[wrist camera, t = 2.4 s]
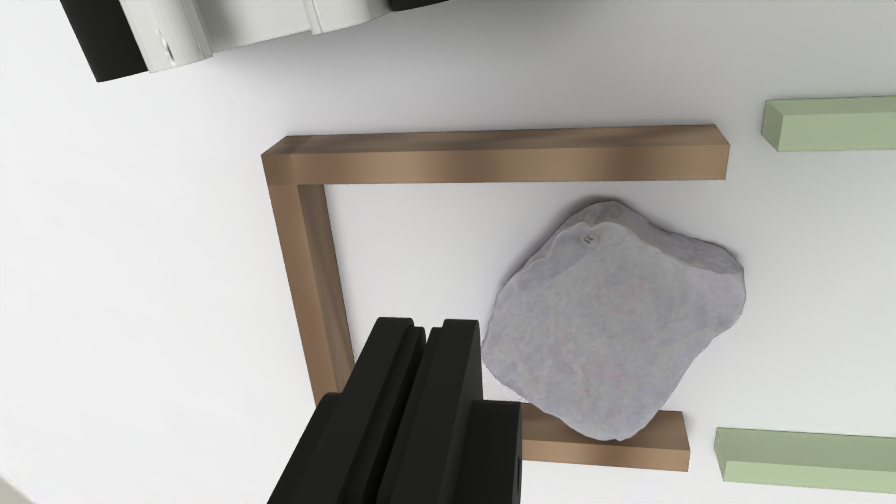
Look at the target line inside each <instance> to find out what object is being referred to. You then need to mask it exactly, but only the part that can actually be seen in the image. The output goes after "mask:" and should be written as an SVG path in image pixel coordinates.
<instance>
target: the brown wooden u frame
mask: <svg viewBox="0 0 896 504" xmlns="http://www.w3.org/2000/svg"><path fill="white" fill-rule="evenodd" d="M729 147H730V144H729V143H728V142H727V140H726V139H725V138H724V136H723V135H722V134H721V132H720V131H719V130H718V128H717V127H716V125H678V126H641V127H605V128H568V129H531V130H494V131H458V132H421V133H384V134H348V135H311V136H286V137H285V138H283V139H282V140H280V141H279V142H278V143H276V144H275V145H274V146H272V147H271V148H269V149H268V150H267V151H265V152H264V153H262V154H261V158H262V163H263V167H264V172H265V176H266V181H267V185H268V190H269V195H270V199H271V204H272V208H273V213H274V218H275V222H276V227H277V231H278V236H279V240H280V245H281V250H282V254H283V259H284V263H285V268H286V272H287V277H288V282H289V286H290V291H291V295H292V300H293V304H294V309H295V314H296V318H297V323H298V327H299V332H300V336H301V341H302V346H303V350H304V355H305V359H306V364H307V368H308V373H309V378H310V382H311V387H312V391H313V396H314V400H315V405H316V408H317V406H318V404H319V402H320V400H321V399H322V397H323V396H324V394H326V393H328V392H337V393H342V392H343V389H344V387H345V385H346V383H347V381H348V379H349V377H350V375H351V373H352V371H353V369H354V366H355V364H354V358H353V352H352V347H351V341H350V335H349V330H348V324H347V318H346V313H345V307H344V301H343V296H342V290H341V284H340V279H339V273H338V267H337V262H336V256H335V250H334V245H333V239H332V233H331V228H330V222H329V216H328V211H327V205H326V199H325V194H324V188H323V184H395V183H482V182H569V181H656V180H725V178H726V170H727V162H728V155H729ZM521 406H522V460H529V461H543V462H557V463H571V464H585V465H599V466H613V467H626V468H640V469H654V470H668V471H682V472H688V466H689V458H690V447H689V442H688V438H687V433H686V429H685V425H684V420H683V416H682V412H673V411H658V412H657V413H656V414H655V416H654V417H653V418H652V419H651V420H650V422H649V423H648V424H647V425H646V426H645V427H644V428H643V429H641V430H639V431H638V432H637V433H636V434H635V435H633V436H632V437H631V438H627V439H624V440H622V441H618V440H616V439H611V440H606V441H604V440H597V439H594V438H590V437H587V436H584V435H583V434H581V433H579V432H577V431H576V430H574V429H573V428H571V427H569V426H568V425H567V424H566V423H564V422H563V421H562V420H561V419H560V418H558V417H555V416H553V415H551V414H548V413H544V412H543V411H542V410H541V409H539V408H538V407H536V406H535V405H533V404H528V403H521Z"/></svg>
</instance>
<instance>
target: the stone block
mask: <svg viewBox="0 0 896 504" xmlns="http://www.w3.org/2000/svg"><path fill="white" fill-rule="evenodd" d="M745 300H746V290H745V284H744V270H743V267H742V266H741V265H740V264H739V263H738V262H737V261H736V260H735V259H734V258H733V257H732V256H731V255H730V254H729V253H728V252H727V251H726V250H725V249H724V248H721V247H719V246H716V245H714V244H711V243H708V242H702V241H700V240H698V239H694V238H688V237H686V236H683V235H680V234H676V233H672V232H670V233H667V232H665V231H663V230H660V229H658V228H656V227H655V226H654V225H653V224H651V223H650V222H648V221H647V220H646V219H645V218H644V217H643V216H642V215H641V214H639V213H637V212H635V211H633V210H631V209H629V208H627V207H625V206H624V205H623V204H622V203H619V202H616V201H608V202H598V203H594V204H592V205H589V206H587V207H585V208H584V209H583V210H582V211H580V212H578V213H576V214H574V215H573V216H571V217H570V218H568V219H567V220H566V221H565V222H564V223H563V224H562V225H561V226H560V227H559V228H558V229H557V230H556V232H555V233H554V234H553V235H552V236H551V237H550V238H549V240H548V241H547V242H546V243H545V244H544V245H543V246H542V247H541V249H540V250H539V251H538V252H536V253H535V254H534V255H533V256H531V257H530V258H529V259H528V260H527V262H526V264H525V265H524V266H523V268H521V269H520V270H519V271H518V272H517V273H515V274H514V275H513V276H512V277H511V278H510V280H509V281H508V282H507V283H506V284H505V285H504V286H503V288H502V289H501V290H500V291H499V293H498V294H497V297H496V302H495V305H494V311H493V316H492V317H491V319H490V321H489V324H488V332H487V334H486V336H485V338H484V340H483V341H482V346H481V357H482V361H483V362H484V364H485V366H486V367H487V368H488V369H489V371H490V372H491V374H492V375H493V376H494V377H495V378H496V379H497V380H499V381H500V382H501V383H502V384H503V385H505V386H507V387H508V388H510V389H512V390H514V391H515V392H516V393H518V394H519V395H520V396H522V397H523V398H525V399H526V400H528V401H529V402H530V403H532V404H533V405H535V406H536V407H538V408H539V409H541V410H542V411H543V412H544V413H548V414H551V415H553V416H555V417H558V418H560V419H561V420H562V421H563V422H564V423H566V424H567V425H568V426H569V427H571V428H573V429H574V430H576V431H577V432H579V433H581V434H583V435H584V436H587V437H590V438H594V439H597V440H604V441H606V440H611V439H616V440H618V441H622V440H624V439H627V438H631V437H632V436H633V435H635V434H636V433H637V432H638V431H639V430H641V429H643V428H644V427H645V426H646V425H647V424H648V423H649V422H650V420H651V419H652V418H653V417H654V416H655V414H656V413H657V412H658V410H659V409H660V408H661V407H662V406H663V405H664V403H665V402H666V400H667V399H668V398H669V396H670V395H671V393H672V392H673V391H674V389H675V388H676V386H677V385H678V383H679V381H680V380H681V378H682V376H683V375H684V373H685V371H686V370H687V369H688V367H689V366H690V364H691V363H692V362H693V360H694V359H695V358H696V357H697V355H698V354H699V353H700V352H702V351H703V350H704V349H705V348H706V347H707V346H708V345H709V343H710V342H711V341H712V339H713V338H715V337H716V336H718V335H719V334H721V333H722V332H724V331H726V330H727V329H729V328H730V327H731V326H732V325H733V324H734V323H735V322H736V320H737V319H738V318H739V316H740V315H741V314H742V311H743V307H744V304H745Z"/></svg>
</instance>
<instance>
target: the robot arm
mask: <svg viewBox="0 0 896 504" xmlns="http://www.w3.org/2000/svg"><path fill="white" fill-rule="evenodd" d="M521 479H522V406H521V402H514V401H494V400H483V387H482V367H481V346H480V328H479V321H478V320H464V319H445V320H444V323H443V326H442V327H433V328H432V329H431V332H430V335H429V338H428V341H427V344H426V334H425V329H424V327H414V322H413V319H412V318H396V317H379V318H378V319H377V321H376V323H375V325H374V327H373V329H372V331H371V333H370V335H369V337H368V339H367V341H366V343H365V346H364V348H363V350H362V352H361V354H360V356H359V358H358V360H357V362H356V364H355V366H354V369H353V371H352V373H351V375H350V377H349V379H348V381H347V383H346V385H345V387H344V389H343V392H342V393H337V392H328V393H326V394H324V396H323V397H322V399H321V400H320V402H319V404H318V406H317V408H316V409H315V411H314V413H313V415H312V417H311V419H310V421H309V423H308V425H307V427H306V429H305V431H304V433H303V435H302V436H301V438H300V440H299V442H298V444H297V446H296V448H295V450H294V452H293V454H292V456H291V458H290V460H289V462H288V464H287V465H286V467H285V469H284V471H283V473H282V475H281V477H280V479H279V481H278V483H277V485H276V487H275V489H274V491H273V493H272V494H271V496H270V498H269V500H268V502H267V504H520V498H521Z"/></svg>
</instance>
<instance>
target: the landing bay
mask: <svg viewBox="0 0 896 504" xmlns="http://www.w3.org/2000/svg"><path fill="white" fill-rule="evenodd" d="M761 134H762V135H763V137H764V138H765V139H766V140H767V141H768V142H769V143H770V144H771V145H772V146H773V147H774V148H775V149H776V150H777V152H791V151H843V150H896V96H885V97H855V98H826V99H796V100H766V107H765V113H764V120H763V127H762V133H761ZM714 449H715V452H716V456H717V460H718V463H719V467H720V471H721V474H722V478H723V481H726V482H740V483H753V484H767V485H780V486H794V487H807V488H821V489H834V490H848V491H861V492H875V493H888V494H896V438H882V437H865V436H848V435H831V434H814V433H797V432H780V431H763V430H746V429H729V428H717V432H716V439H715V446H714Z"/></svg>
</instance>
